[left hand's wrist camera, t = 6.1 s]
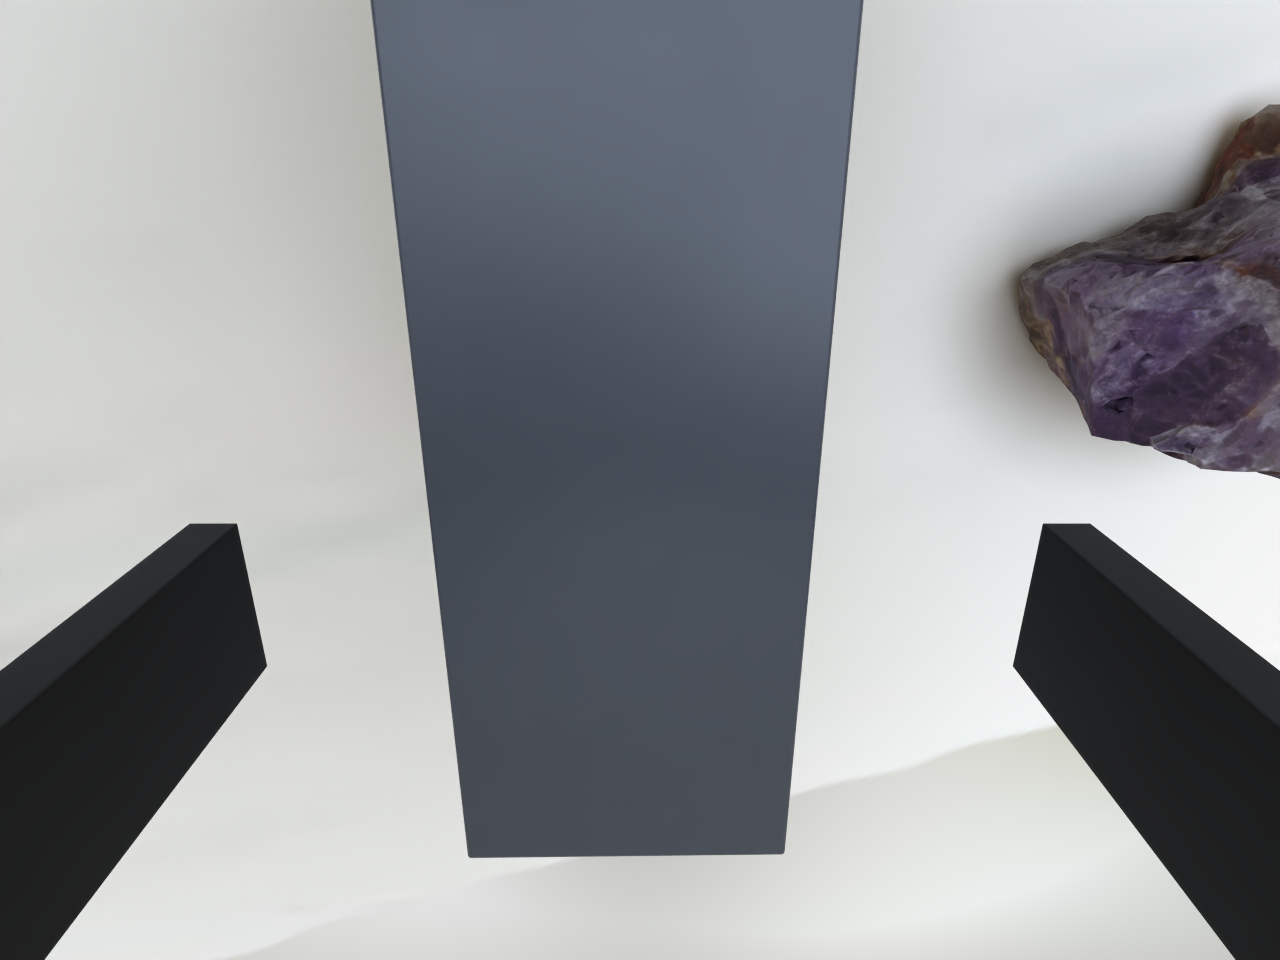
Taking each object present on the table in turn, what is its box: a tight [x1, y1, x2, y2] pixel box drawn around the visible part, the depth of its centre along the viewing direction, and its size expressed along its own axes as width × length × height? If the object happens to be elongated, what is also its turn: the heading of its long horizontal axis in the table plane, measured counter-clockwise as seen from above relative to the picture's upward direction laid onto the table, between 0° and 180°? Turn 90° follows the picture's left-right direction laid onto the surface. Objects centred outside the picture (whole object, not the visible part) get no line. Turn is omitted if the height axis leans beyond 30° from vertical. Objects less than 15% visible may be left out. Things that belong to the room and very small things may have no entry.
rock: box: [1018, 105, 1280, 479], centre depth 24 cm, size 12×9×10 cm
